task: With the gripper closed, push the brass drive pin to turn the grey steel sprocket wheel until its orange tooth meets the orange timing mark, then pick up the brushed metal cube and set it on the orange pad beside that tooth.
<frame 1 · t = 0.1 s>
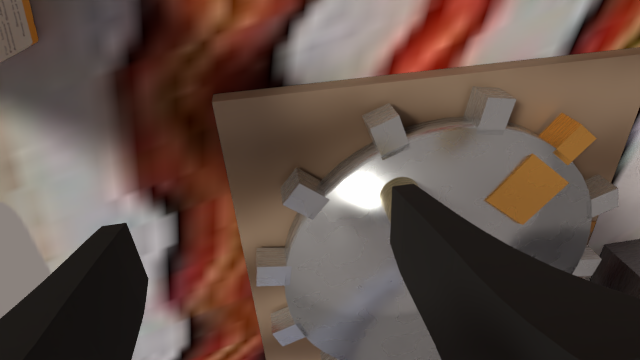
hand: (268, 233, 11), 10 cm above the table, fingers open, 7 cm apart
sprocket wheel: (449, 287, 23), point 4 cm above the table, hinge at 0.0°
brushed metal cube: (614, 262, 30), on the table
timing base: (423, 240, 26), on the table
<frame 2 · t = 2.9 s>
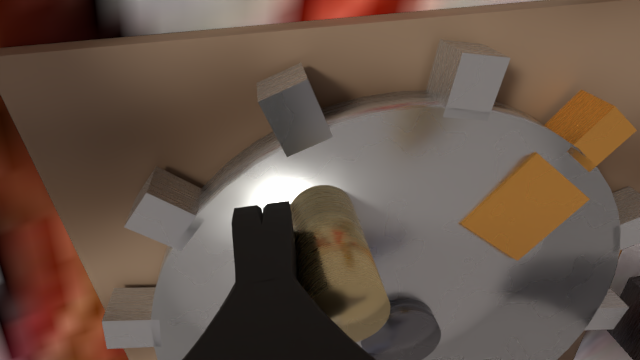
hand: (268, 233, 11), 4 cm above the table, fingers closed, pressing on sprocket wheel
sprocket wheel: (406, 353, 15), point 4 cm above the table, hinge at 1.0°, touching gripper
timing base: (376, 274, 19), on the table
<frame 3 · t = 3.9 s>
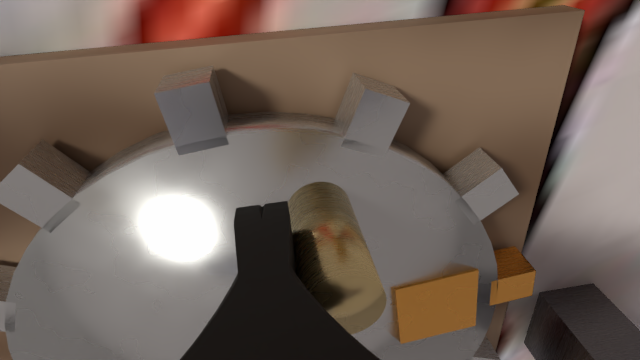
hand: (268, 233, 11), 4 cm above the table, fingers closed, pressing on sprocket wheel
brushed metal cube: (557, 313, 23), on the table
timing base: (270, 292, 18), on the table
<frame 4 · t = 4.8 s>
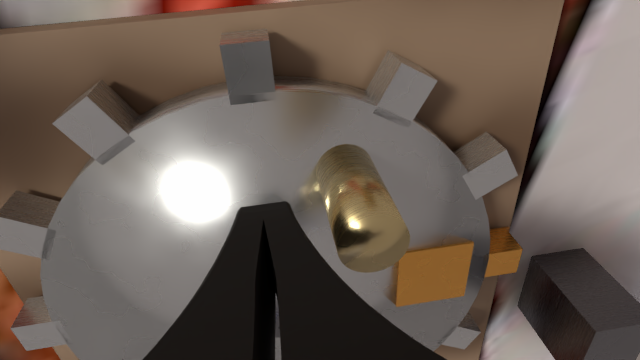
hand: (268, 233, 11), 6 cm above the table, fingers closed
sprocket wheel: (286, 322, 16), point 4 cm above the table, hinge at 50.3°
brushed metal cube: (548, 277, 24), on the table
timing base: (279, 252, 20), on the table
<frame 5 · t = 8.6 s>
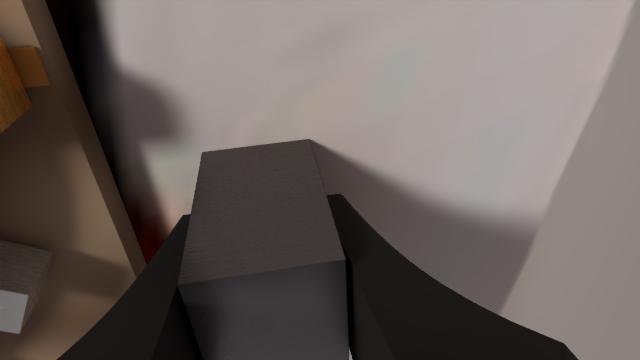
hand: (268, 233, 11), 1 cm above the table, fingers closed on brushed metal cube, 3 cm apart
brushed metal cube: (265, 203, 13), on the table, touching gripper
when the fingers open (5 cm above the table, at t = 11.5 s): brushed metal cube stays where it is, resting on sprocket wheel.
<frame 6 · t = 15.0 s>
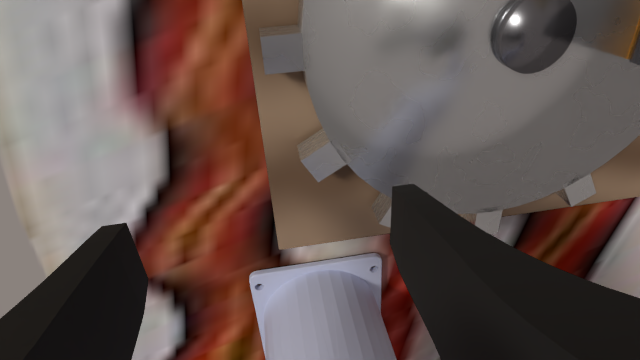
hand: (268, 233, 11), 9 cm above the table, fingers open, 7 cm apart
sprocket wheel: (546, 37, 15), point 4 cm above the table, hinge at 50.3°, touching brushed metal cube
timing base: (491, 17, 19), on the table
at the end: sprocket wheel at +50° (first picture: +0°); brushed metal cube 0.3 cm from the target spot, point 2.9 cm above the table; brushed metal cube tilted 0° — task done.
